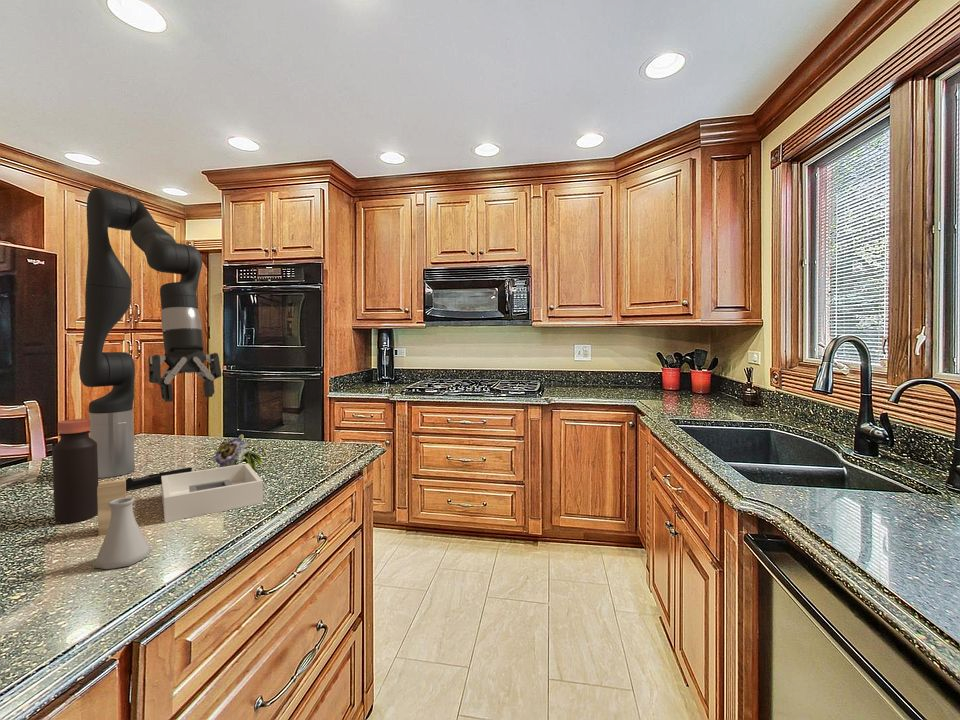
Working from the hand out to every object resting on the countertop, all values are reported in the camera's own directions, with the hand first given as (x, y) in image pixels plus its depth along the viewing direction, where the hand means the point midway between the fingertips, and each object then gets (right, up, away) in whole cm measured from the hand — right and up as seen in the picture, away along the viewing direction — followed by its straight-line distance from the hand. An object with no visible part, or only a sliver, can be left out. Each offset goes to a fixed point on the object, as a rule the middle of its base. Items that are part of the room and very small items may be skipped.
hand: (189, 399), depth 101 cm
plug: (-4, -24, -16) cm, 29 cm away
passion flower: (-2, -22, +23) cm, 32 cm away
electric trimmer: (-16, -23, +11) cm, 30 cm away
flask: (+7, -24, -28) cm, 38 cm away
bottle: (-16, -24, -10) cm, 30 cm away
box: (+5, -23, 0) cm, 24 cm away
